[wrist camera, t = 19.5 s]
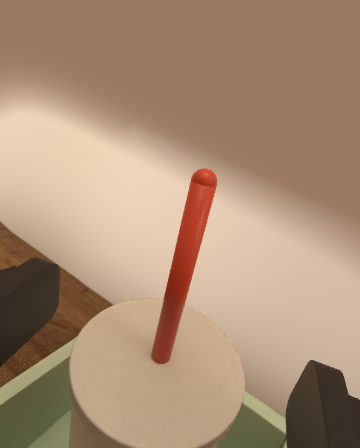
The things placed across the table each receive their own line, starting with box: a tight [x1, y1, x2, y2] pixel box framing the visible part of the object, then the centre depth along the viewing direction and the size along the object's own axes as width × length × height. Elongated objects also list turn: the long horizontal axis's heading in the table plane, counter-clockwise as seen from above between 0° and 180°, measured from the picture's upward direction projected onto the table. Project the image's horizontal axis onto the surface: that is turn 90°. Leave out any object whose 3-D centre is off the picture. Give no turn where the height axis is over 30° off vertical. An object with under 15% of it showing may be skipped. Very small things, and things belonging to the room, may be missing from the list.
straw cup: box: [68, 169, 245, 448], centre depth 11 cm, size 6×6×17 cm
